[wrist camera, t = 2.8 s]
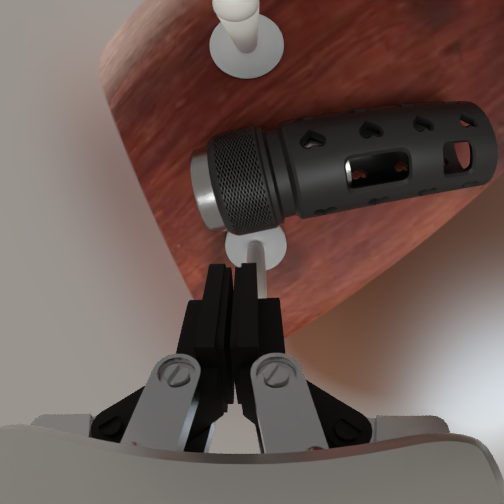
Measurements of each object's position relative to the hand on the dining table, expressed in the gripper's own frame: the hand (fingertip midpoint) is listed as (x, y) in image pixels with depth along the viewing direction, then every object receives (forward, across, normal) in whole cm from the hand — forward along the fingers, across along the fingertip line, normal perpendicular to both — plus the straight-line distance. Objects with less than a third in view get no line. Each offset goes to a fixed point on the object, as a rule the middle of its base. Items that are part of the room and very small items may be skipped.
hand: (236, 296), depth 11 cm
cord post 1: (+24, -1, -11) cm, 26 cm away
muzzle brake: (+24, -10, -1) cm, 26 cm away
